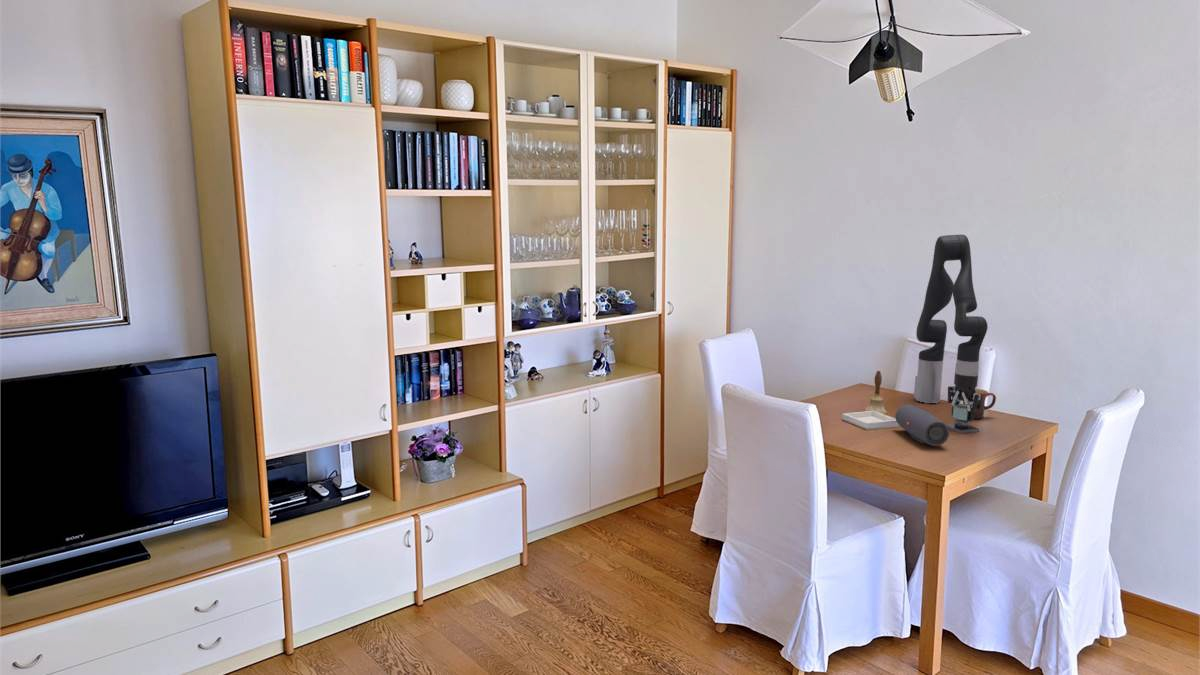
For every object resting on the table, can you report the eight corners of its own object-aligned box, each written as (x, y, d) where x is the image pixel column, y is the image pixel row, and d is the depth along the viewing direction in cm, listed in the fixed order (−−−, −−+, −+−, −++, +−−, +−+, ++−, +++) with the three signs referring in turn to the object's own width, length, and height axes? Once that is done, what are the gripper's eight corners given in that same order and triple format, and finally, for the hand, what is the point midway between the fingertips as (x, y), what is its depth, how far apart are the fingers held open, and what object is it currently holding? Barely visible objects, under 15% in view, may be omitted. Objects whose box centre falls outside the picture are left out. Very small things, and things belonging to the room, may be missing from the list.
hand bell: (890, 414, 314) (893, 373, 311) (868, 414, 314) (871, 373, 311) (883, 409, 322) (886, 368, 319) (861, 408, 322) (864, 368, 319)
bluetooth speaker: (892, 430, 293) (894, 402, 291) (917, 430, 293) (920, 402, 292) (921, 449, 270) (924, 420, 269) (949, 449, 271) (951, 419, 269)
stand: (944, 427, 297) (946, 407, 296) (961, 425, 300) (963, 405, 298) (961, 433, 290) (963, 412, 288) (978, 431, 292) (980, 410, 291)
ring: (948, 416, 296) (949, 405, 295) (964, 414, 298) (965, 403, 298) (962, 420, 290) (963, 409, 289) (978, 419, 293) (979, 408, 292)
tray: (842, 419, 305) (842, 413, 305) (873, 416, 310) (873, 410, 310) (866, 430, 292) (867, 423, 292) (898, 426, 297) (899, 420, 297)
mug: (964, 420, 307) (966, 393, 306) (956, 413, 316) (959, 387, 314) (998, 421, 306) (1000, 394, 304) (989, 415, 315) (991, 388, 313)
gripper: (943, 369, 297) (939, 414, 299) (973, 377, 283) (969, 425, 286) (959, 367, 299) (955, 412, 302) (990, 376, 286) (986, 423, 289)
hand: (962, 418), depth 294 cm, fingers closed on ring, 6 cm apart
